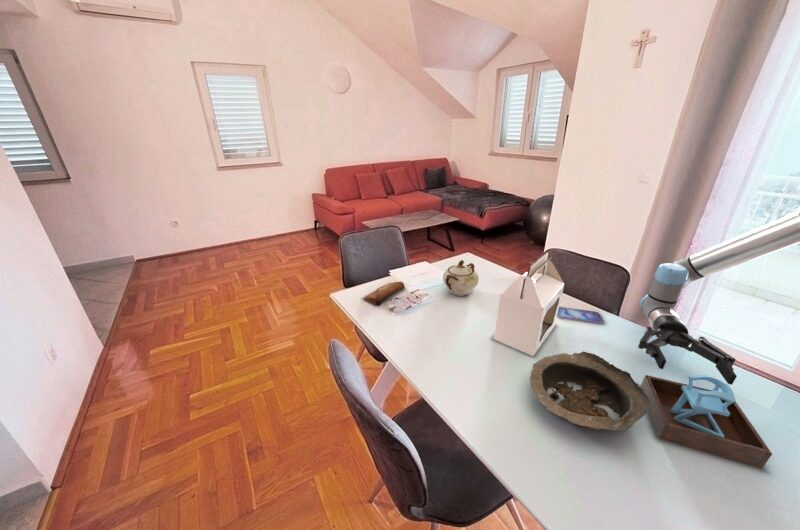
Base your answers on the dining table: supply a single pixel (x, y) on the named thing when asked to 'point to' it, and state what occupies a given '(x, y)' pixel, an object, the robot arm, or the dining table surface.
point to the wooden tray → (704, 425)
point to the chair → (704, 403)
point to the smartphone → (579, 315)
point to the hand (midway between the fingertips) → (696, 372)
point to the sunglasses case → (384, 292)
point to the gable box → (529, 307)
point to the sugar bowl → (460, 278)
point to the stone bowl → (588, 391)
